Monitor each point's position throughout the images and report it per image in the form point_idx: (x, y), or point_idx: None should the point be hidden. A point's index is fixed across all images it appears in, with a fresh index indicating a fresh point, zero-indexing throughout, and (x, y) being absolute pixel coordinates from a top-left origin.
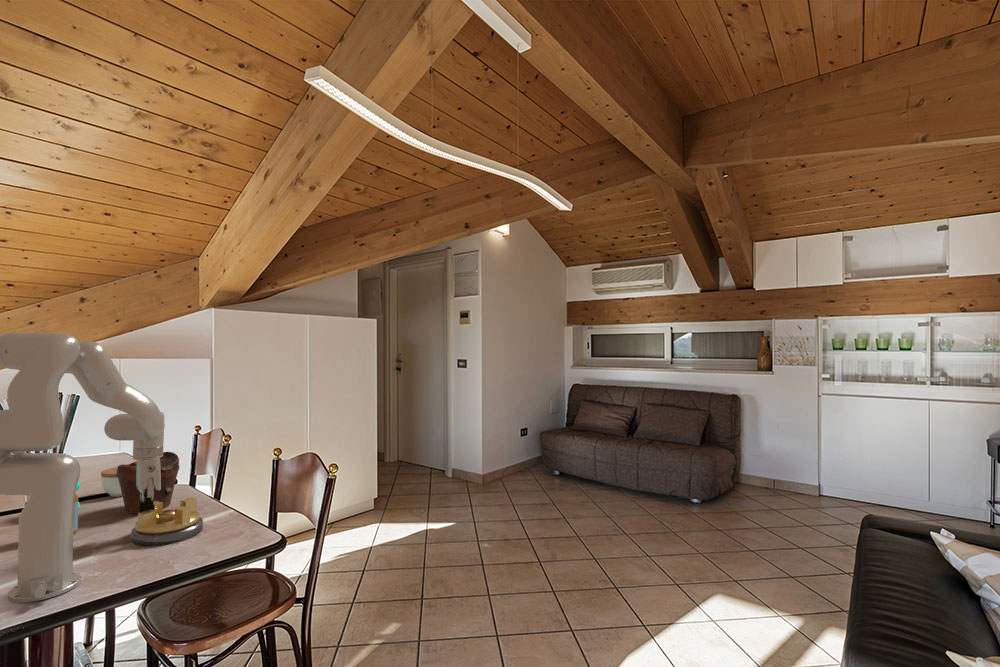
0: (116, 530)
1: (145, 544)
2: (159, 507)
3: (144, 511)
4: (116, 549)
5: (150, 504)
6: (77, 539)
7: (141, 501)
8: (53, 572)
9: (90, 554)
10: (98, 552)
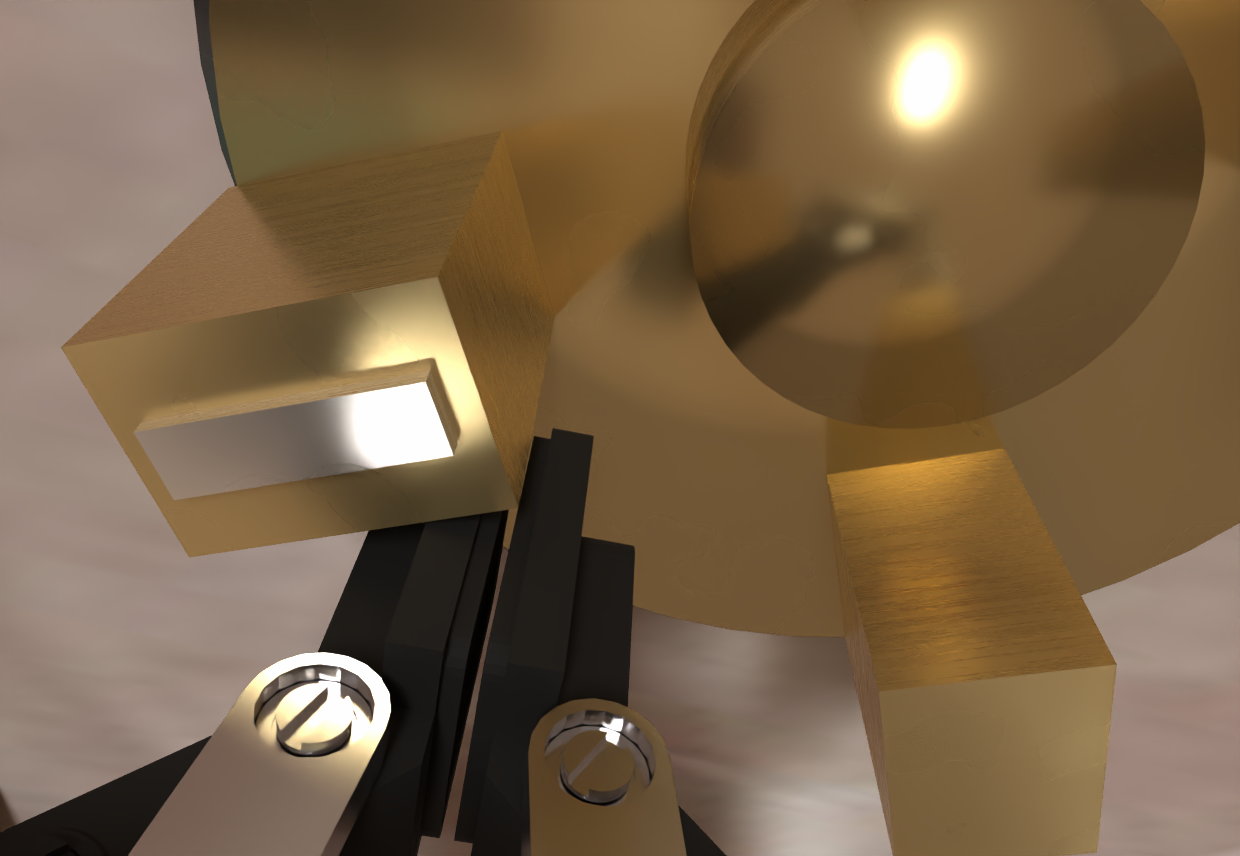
0: (25, 454)
1: None
2: (490, 312)
3: (897, 788)
4: (800, 650)
5: (625, 670)
6: (113, 739)
7: (416, 842)
8: None
9: (710, 788)
10: (721, 747)
